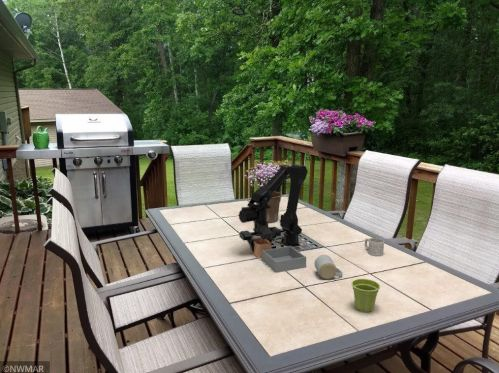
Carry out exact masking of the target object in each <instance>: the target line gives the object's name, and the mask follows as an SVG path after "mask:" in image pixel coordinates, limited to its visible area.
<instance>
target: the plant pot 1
mask: <svg viewBox="0 0 499 373" xmlns="http://www.w3.org/2000/svg"><path fill="white" fill-rule="evenodd" d="M282 196H283V193H282V192H278V191H276V190H275V191H274V192H273V193H272V198H271V199H270V201H269V203H268V205H269V206H270V207H271V208H269V209H267V222H268V223H270V224H272V223H276V222H278V220H279V213H280V212H279V211H280V204H281V200H282ZM255 204H256V203H255ZM256 205H259V204H256Z"/></svg>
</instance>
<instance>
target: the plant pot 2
mask: <svg viewBox="0 0 499 373" xmlns="http://www.w3.org/2000/svg"><path fill="white" fill-rule="evenodd" d="M351 286H352V290H353V297H354V307H355V309H356V310H357V311H361V312H363V313H370V312H372V311H374V308H375V305H376V304H375V303H376V300H377V295H378V292H379V290H380V289H381V284H380V283H378V282H377V281H375V280H373V279H370V278H355V279H353V280H352V281H351Z"/></svg>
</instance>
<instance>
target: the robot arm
mask: <svg viewBox="0 0 499 373" xmlns="http://www.w3.org/2000/svg"><path fill="white" fill-rule="evenodd" d="M307 176H308V168H307V167H306V166H305V165H301V164H292V165H281V166H280V167H279V169H278V171H277V172H275V174H273V176H272V177H271V178H270V179H269V180H267V183H265V185H263V186H261V187H260V188H257V189H256V190H255V191H254V192H253V193H252V194H251V197H250V200H249V201H248V203H247V206H244V207H243V206H242V207H241V210H240V211H239V212H238V219H239V221H240V223H243V224H244V223H249V222H252V223H253V228H252V230H253V231H252V232H251V231H249V230H242V231H241V230H240V232H239V233H238V234H239V238H240V239H241V240H242V241H245V242H246V241H247V243H248V245H249V249H250V248H251V250H252V252H254V239H253V238H254V237H259V238H260V237H261V239H263V240H265V239H267V240H268V241H269V242H270V243H271V244H272V242H273V241H274V240H275V239H277V237H281V236H282V232H284V235H283V242H282V243H283V244H284V245H285V246H286V247H287V246H291V247H296V246H301V243H300V242H299V239H300V236H299V235H301V234H302V232H303V229H302V227H300V225H299V218H298V215H297V212H298V211H297V210H298V207H299V206H298V204H299V199H300V193H301V188H302V184H303V183H304V181H305V180H306V179H307ZM287 177H289V180H290V187H289V188H290V189H289V193H288V198H287V206H286V210H285V212H284V213H283V214H280V219H279V225H280V227H281V229H279V228H278V227H276V226H269V222H267V209H269V208H271V207H270V206H269V205H268V203H269V201H270V199H271V198H272V193H273V192H274V191H275V192H276V189H278V187H279V186H280V185H281V184H282V183H283V182H284V181H285V179H286V178H287ZM256 204H259V205H256ZM281 230H282V231H281Z"/></svg>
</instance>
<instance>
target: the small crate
mask: <svg viewBox="0 0 499 373" xmlns="http://www.w3.org/2000/svg"><path fill="white" fill-rule="evenodd" d="M253 239H254V252H252V250H251V248H250V247H249V252H250V253H251V254H252V255H253V256H254V257H255V258H257V259H258V258H262V250H268V249H272V242H271V243H270V242H269V241H268V240H267V239H265V240H263V239H261V237H260V236H259V237H253Z"/></svg>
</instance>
